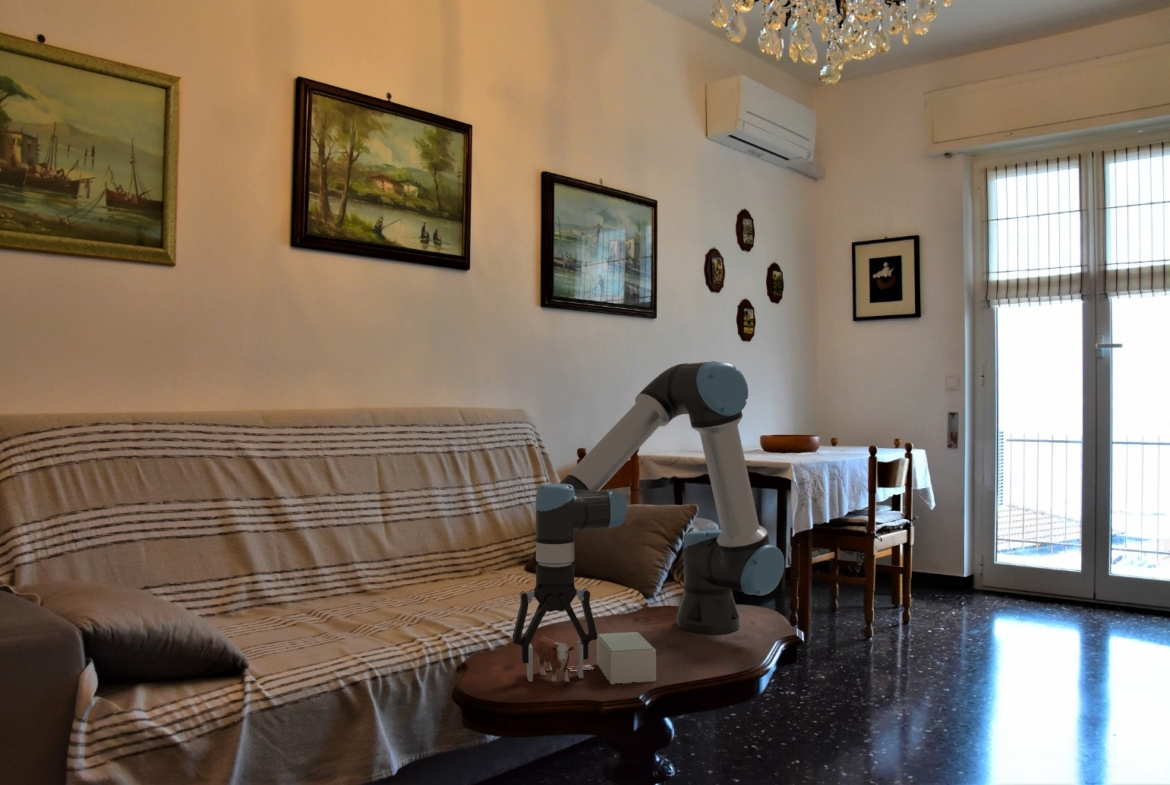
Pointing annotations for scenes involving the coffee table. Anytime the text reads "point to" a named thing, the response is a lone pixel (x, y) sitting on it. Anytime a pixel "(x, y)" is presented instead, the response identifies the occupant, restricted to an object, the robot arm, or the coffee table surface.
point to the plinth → (626, 657)
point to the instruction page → (584, 667)
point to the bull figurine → (553, 656)
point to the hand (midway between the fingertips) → (555, 677)
